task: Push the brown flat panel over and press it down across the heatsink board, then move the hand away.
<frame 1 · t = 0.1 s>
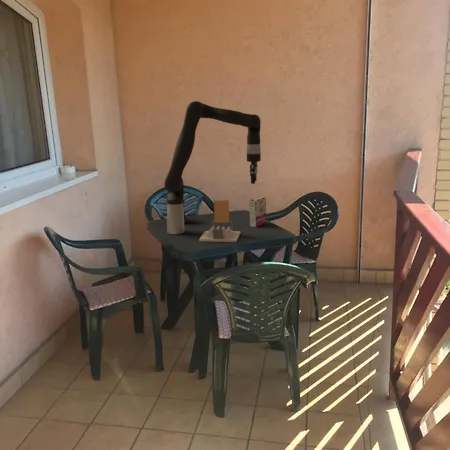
hand: (253, 182, 270), 29 cm above the table, tool pointing down, fingers open, 8 cm apart
brown flat panel: (221, 211, 275), point 13 cm above the table, hinge at 0.0°
heatsink board: (220, 237, 272), on the table
mug: (177, 221, 310), on the table
candy bar box: (257, 225, 296), on the table
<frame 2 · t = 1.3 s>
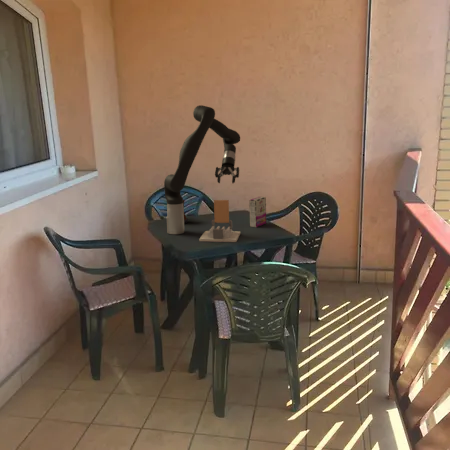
hand: (225, 182, 287), 27 cm above the table, tool tilted 45°, fingers open, 7 cm apart
nothing on the table moved.
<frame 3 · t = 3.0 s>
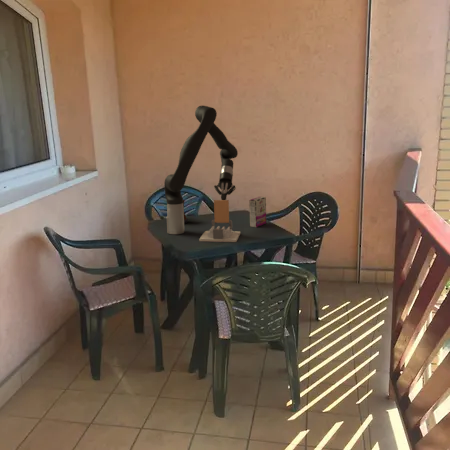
hand: (223, 200, 281), 18 cm above the table, tool tilted 45°, fingers closed
nothing on the table moved.
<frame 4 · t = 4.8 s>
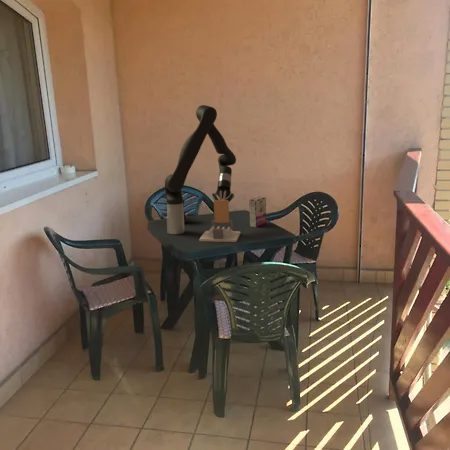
hand: (221, 208, 275), 15 cm above the table, tool tilted 45°, fingers closed
brown flat panel: (221, 211, 274), point 13 cm above the table, hinge at 1.7°, touching gripper
everything else where it was.
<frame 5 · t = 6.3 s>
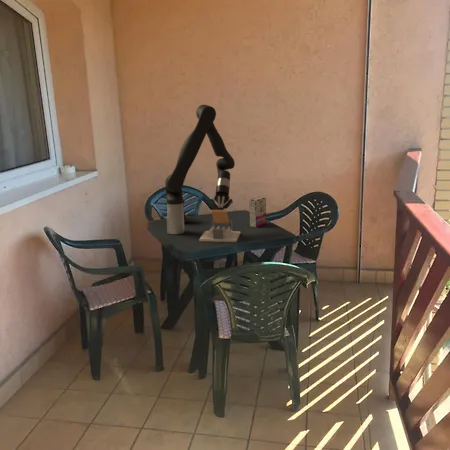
hand: (220, 214, 270), 13 cm above the table, tool tilted 45°, fingers closed
brown flat panel: (220, 216, 271), point 11 cm above the table, hinge at 46.3°, touching gripper
everything else where it was.
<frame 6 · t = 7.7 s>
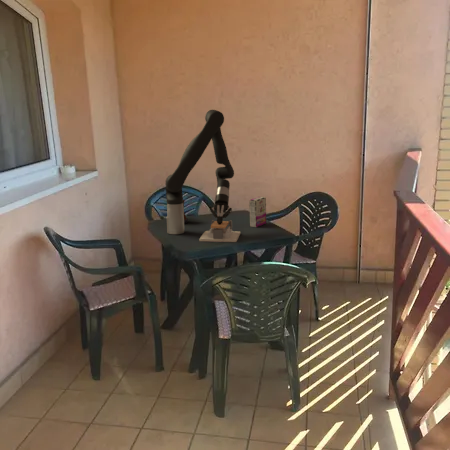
hand: (219, 223, 267), 8 cm above the table, tool tilted 45°, fingers closed
brown flat panel: (220, 224, 270), point 7 cm above the table, hinge at 87.7°, touching gripper
everything else where it was.
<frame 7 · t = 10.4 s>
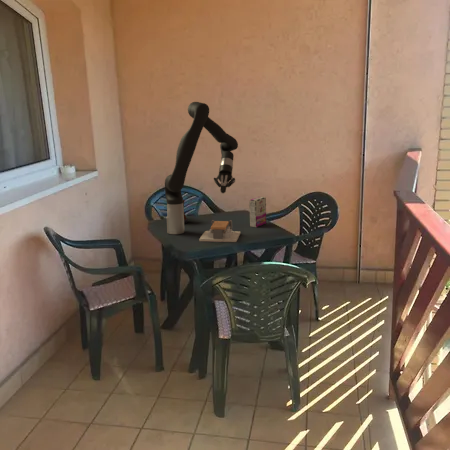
hand: (222, 192, 277), 23 cm above the table, tool tilted 45°, fingers closed
brown flat panel: (220, 225, 270), point 7 cm above the table, hinge at 90.9°, touching heatsink board
everything else where it was.
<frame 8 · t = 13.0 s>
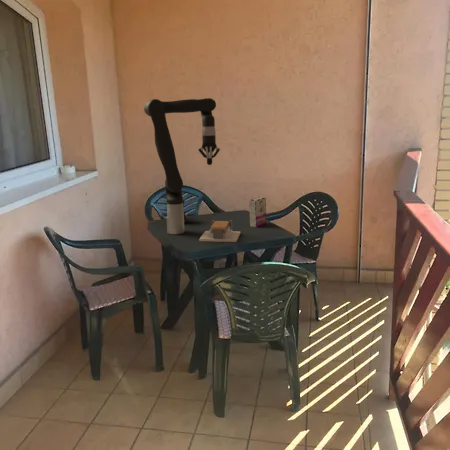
hand: (209, 164, 285), 37 cm above the table, tool pointing down, fingers closed
nothing on the table moved.
at the end: brown flat panel at +91° (first picture: +0°) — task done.
